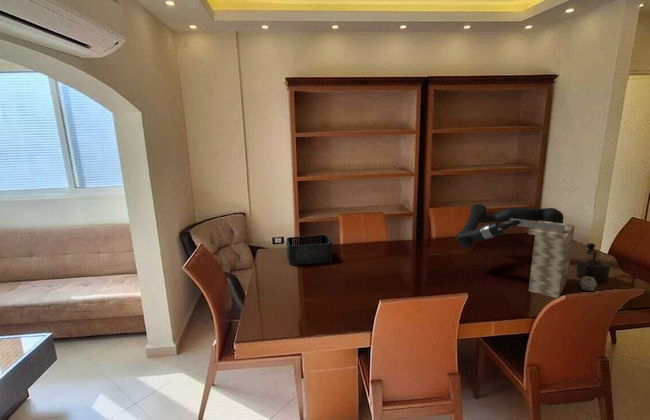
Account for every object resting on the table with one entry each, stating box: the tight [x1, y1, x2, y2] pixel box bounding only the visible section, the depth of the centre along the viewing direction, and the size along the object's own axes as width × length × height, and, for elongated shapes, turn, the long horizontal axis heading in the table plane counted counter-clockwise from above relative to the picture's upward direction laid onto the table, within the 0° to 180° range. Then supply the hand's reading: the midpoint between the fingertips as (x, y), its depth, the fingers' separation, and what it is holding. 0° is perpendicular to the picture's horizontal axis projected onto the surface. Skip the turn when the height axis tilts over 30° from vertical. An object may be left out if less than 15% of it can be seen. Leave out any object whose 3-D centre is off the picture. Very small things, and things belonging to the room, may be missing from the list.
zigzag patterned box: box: [527, 220, 576, 299], centre depth 181 cm, size 16×24×32 cm, turn 138°
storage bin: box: [286, 234, 333, 266], centre depth 230 cm, size 29×19×13 cm
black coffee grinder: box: [575, 242, 611, 284], centre depth 191 cm, size 16×11×18 cm
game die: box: [577, 274, 600, 292], centre depth 177 cm, size 9×8×10 cm
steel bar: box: [510, 218, 565, 233], centre depth 177 cm, size 24×3×3 cm, turn 48°
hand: (521, 220), depth 181 cm, fingers open, 8 cm apart
